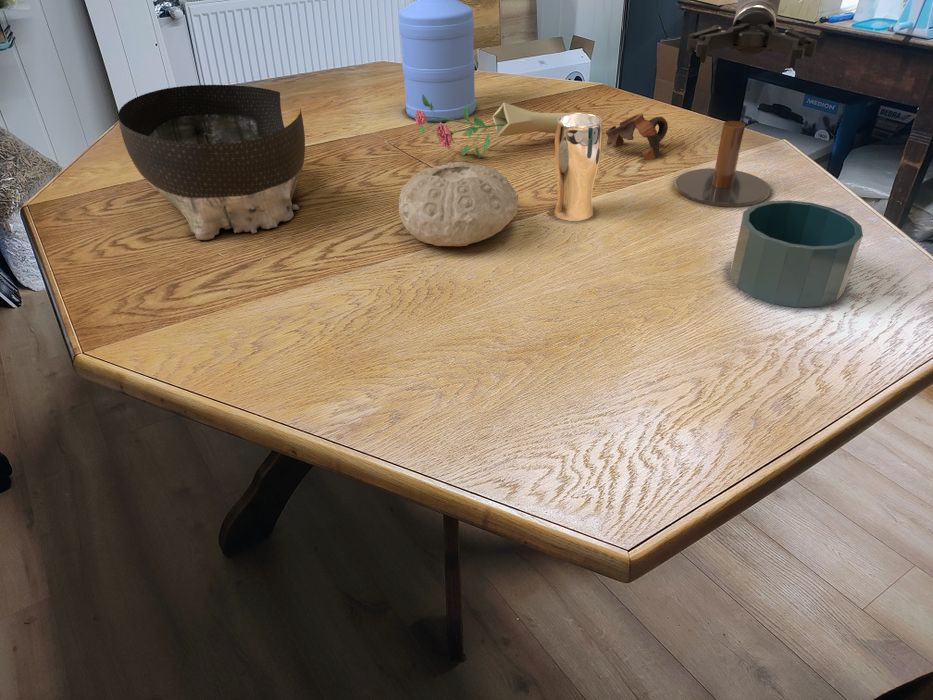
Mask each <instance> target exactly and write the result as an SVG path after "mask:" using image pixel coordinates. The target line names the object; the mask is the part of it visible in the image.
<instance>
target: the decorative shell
mask: <svg viewBox="0 0 933 700" xmlns="http://www.w3.org/2000/svg"><path fill="white" fill-rule="evenodd" d="M399 189H400V194H399V200H398V213H399V218H400V220H401V222H402V225H403V226H404V228H405V230H406V231H407V232H408V233H409V234H410V235H411V236H413V237H414V238H415V239H416V240H418V241H420V242H422V243H425V244H427V245H428V244H430V245H433V246H437V247H442V246H443V247H466V246H469V245H472V244H476V243H479V242H482V241H484V240H487V239H490V238H491V237H493V236H494V235H496V234H498V233H499V232H501V231H502V230H503V229H504V228H505V227H506V226H507V225H508V224H509V223H510V222H511V221H512V220H513V219H514V218H515V216H516V214H517V213H518V207H519V194H518V193H517V191H516V189H514V187H513V185H512V184H511V182H510V181H509V180H508V177H507V176H504V174H502V173H501V172H499V171H498V169H497V168H496V167H490V166H487V165H483V164H479V163H468V162H466V161H455V162H448V163H445V164H442V165H439V166H435V167H428V168H425V169H422V170H421V171H419V172H417V173H415V174H414V175H412V176H411V177H410V178H409V179H408V180H407V181H406V182H405V184H404V186H401V187H400V188H399Z"/></svg>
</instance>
